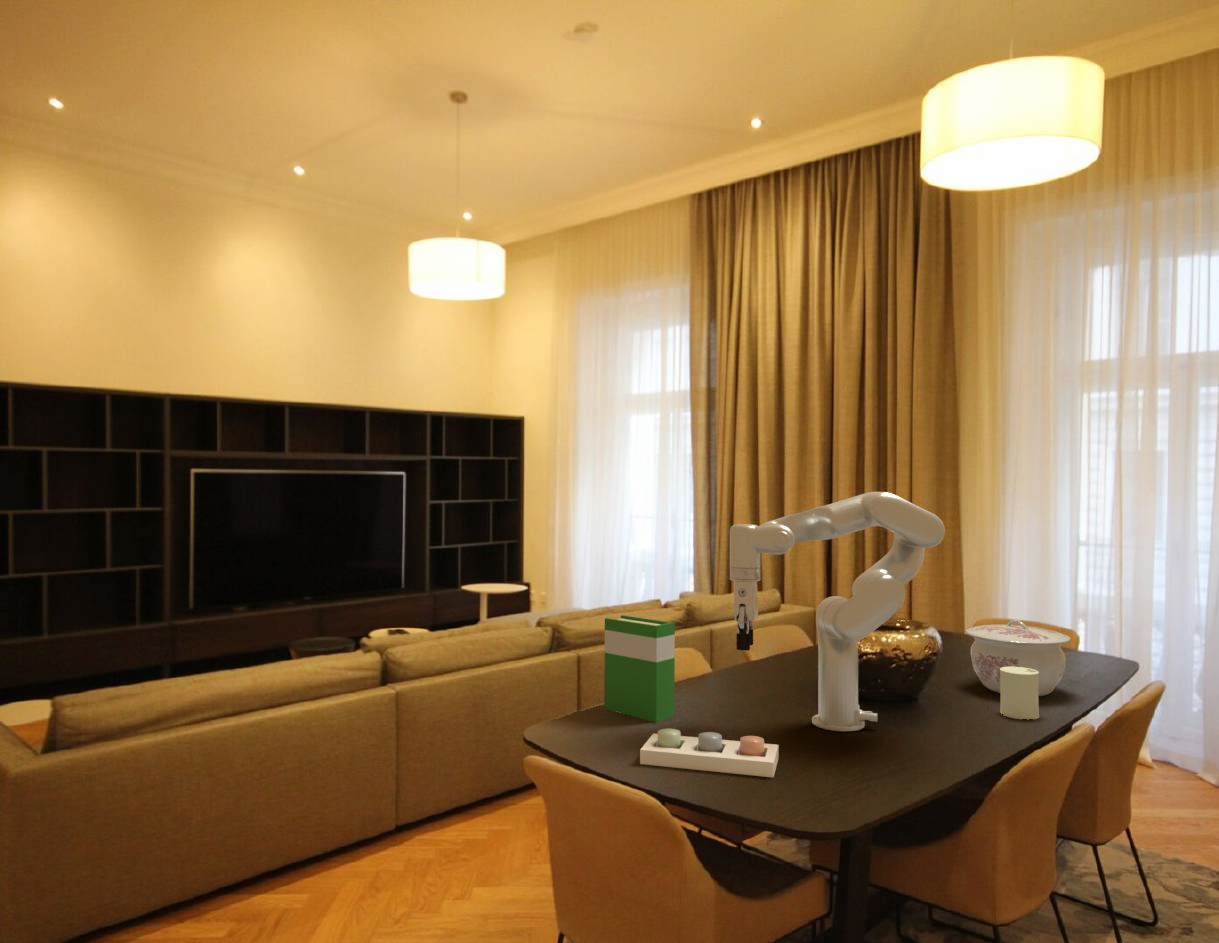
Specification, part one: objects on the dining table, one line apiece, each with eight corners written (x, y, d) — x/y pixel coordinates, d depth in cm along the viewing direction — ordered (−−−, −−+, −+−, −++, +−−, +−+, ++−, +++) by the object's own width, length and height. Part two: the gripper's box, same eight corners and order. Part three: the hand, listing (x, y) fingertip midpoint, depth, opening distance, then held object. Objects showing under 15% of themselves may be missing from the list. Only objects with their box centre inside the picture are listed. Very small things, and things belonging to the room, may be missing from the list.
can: (1044, 720, 209) (1044, 673, 209) (1005, 718, 211) (1004, 671, 211) (1033, 711, 218) (1033, 665, 218) (995, 708, 220) (995, 663, 220)
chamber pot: (1071, 709, 219) (1070, 631, 219) (959, 696, 233) (959, 622, 233) (1072, 687, 243) (1071, 616, 244) (971, 676, 257) (971, 609, 257)
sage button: (682, 747, 182) (682, 729, 182) (678, 754, 177) (678, 736, 177) (660, 745, 183) (660, 727, 183) (655, 752, 179) (655, 734, 179)
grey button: (723, 751, 179) (723, 733, 180) (719, 759, 175) (719, 740, 175) (700, 749, 181) (700, 731, 181) (696, 756, 176) (696, 737, 176)
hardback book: (604, 709, 218) (604, 618, 219) (622, 703, 224) (623, 615, 224) (656, 722, 207) (656, 626, 207) (674, 716, 212) (674, 622, 212)
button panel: (778, 758, 180) (778, 744, 180) (773, 777, 168) (773, 762, 168) (653, 746, 187) (653, 733, 188) (640, 763, 176) (640, 749, 176)
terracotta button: (765, 755, 177) (765, 736, 177) (762, 763, 172) (762, 743, 172) (741, 753, 178) (741, 734, 178) (738, 760, 174) (738, 741, 174)
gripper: (756, 578, 195) (756, 655, 194) (763, 571, 211) (764, 641, 211) (724, 577, 197) (724, 653, 197) (734, 570, 213) (734, 640, 213)
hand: (745, 646), depth 204 cm, fingers open, 5 cm apart
